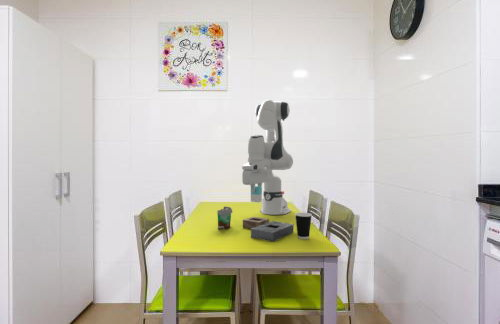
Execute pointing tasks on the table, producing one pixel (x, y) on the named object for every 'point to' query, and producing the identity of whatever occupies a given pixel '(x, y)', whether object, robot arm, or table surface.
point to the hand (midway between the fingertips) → (256, 191)
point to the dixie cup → (303, 224)
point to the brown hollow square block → (254, 222)
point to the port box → (272, 231)
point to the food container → (224, 218)
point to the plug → (256, 194)
